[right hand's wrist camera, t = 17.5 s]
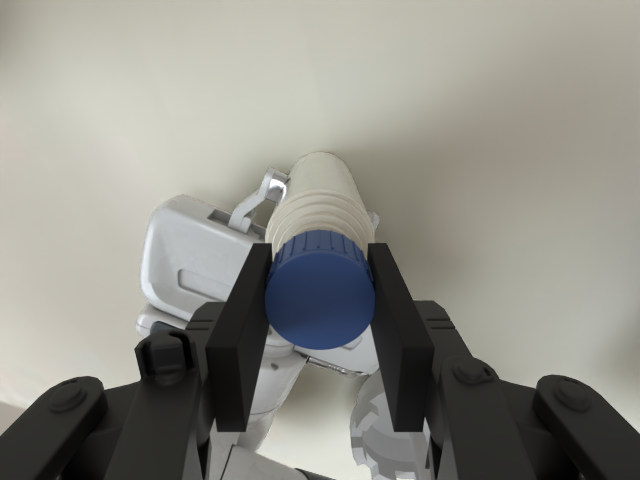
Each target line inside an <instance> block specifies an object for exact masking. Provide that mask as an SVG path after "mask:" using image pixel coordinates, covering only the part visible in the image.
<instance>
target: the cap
mask: <svg viewBox="0 0 640 480" xmlns="http://www.w3.org/2000/svg"><path fill="white" fill-rule="evenodd" d="M373 282H374V280H373V276H372V273H371V270H370V266H369V263H368V260H366V259H365V256H364V253H363V250H360V248H359V247H358V246H357V245H356V244H355V242H354V241H352V240H350V239H349V238H347V237H346V236H345V235H344V234H343V235H342V234H339V233H337V232H333V231H332V230H330V231H328V230H319V229H317V230H311V231H304V232H303V233H301V234H298V235H296V236H293V237H292V238H291V239H290V240H288V241H287V242H286V243H283V245H282V247H281V248H280V250H279V251H278V253H277V252H276V254H275V257H274V261H273V263H272V265H271V268H270V271H269V275H268V278H267V282H266V285H267V286H266V290H265V310H266V316H267V318H268V320H269V322H270V324H271V326H272V327H273V329H274V330H275V331H276V332H277V333H278V334H279V335H280V336H281V337H282V338H284V339H285V340H287V341H288V342H290V343H292V344H294V345H296V346H299V347H302V348H306V349H312V350H329V349H334V348H338V347H341V346H344V345H346V344H348V343H350V342H352V341H353V340H355V339H356V338H358V337H359V336H360V335H361V334H362V333H363V332H364V331H365V330H366V329H367V327H368V326H369V324H370V323H371V321H372V319H373V316H374V307H375V289H374V286H373Z"/></svg>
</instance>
